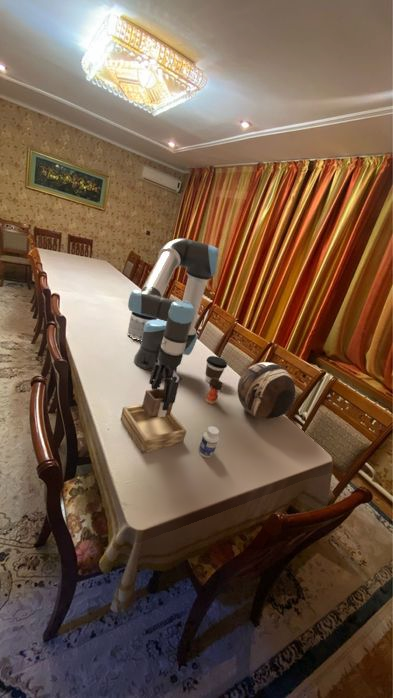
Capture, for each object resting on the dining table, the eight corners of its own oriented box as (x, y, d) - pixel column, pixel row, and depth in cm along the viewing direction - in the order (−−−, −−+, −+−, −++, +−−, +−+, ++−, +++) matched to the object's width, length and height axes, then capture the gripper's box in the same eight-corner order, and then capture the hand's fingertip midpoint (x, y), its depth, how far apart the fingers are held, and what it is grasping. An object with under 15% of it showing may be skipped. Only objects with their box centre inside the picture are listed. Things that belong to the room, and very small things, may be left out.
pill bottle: (197, 445, 102) (204, 423, 99) (212, 448, 103) (219, 426, 100) (198, 456, 97) (206, 433, 94) (214, 459, 98) (222, 436, 95)
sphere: (251, 434, 117) (273, 381, 108) (220, 398, 137) (236, 351, 128) (294, 428, 130) (316, 380, 121) (260, 396, 150) (277, 353, 141)
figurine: (218, 401, 134) (226, 378, 130) (215, 406, 129) (223, 383, 125) (206, 395, 136) (213, 373, 132) (202, 401, 131) (209, 378, 126)
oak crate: (158, 411, 114) (161, 401, 113) (183, 442, 102) (186, 430, 100) (120, 418, 105) (123, 407, 103) (142, 453, 92) (145, 440, 90)
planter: (150, 344, 175) (155, 322, 170) (124, 337, 174) (128, 315, 169) (154, 335, 190) (158, 315, 185) (130, 329, 189) (134, 308, 184)
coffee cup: (225, 383, 153) (231, 363, 149) (212, 387, 145) (219, 366, 140) (209, 373, 159) (216, 354, 155) (196, 377, 151) (202, 357, 147)
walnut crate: (161, 404, 105) (166, 388, 102) (169, 414, 100) (174, 397, 98) (141, 407, 100) (146, 390, 97) (149, 418, 95) (154, 400, 93)
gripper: (148, 338, 96) (135, 396, 104) (177, 365, 83) (160, 430, 91) (167, 338, 101) (153, 394, 109) (198, 364, 88) (179, 425, 96)
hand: (156, 410), depth 100 cm, fingers closed on walnut crate, 6 cm apart
